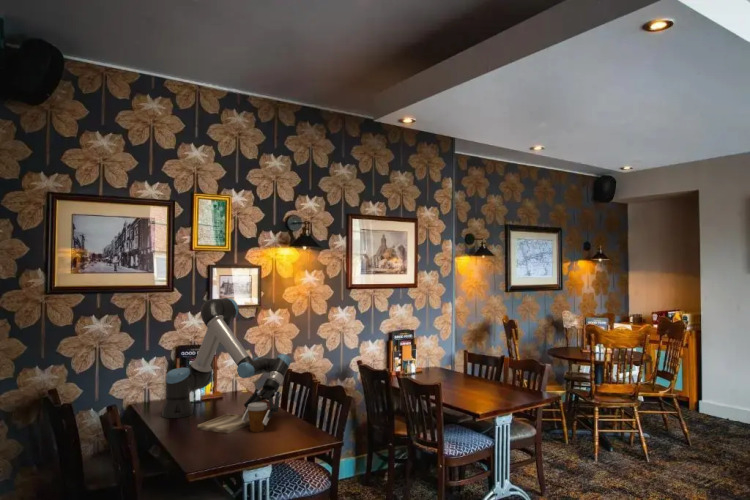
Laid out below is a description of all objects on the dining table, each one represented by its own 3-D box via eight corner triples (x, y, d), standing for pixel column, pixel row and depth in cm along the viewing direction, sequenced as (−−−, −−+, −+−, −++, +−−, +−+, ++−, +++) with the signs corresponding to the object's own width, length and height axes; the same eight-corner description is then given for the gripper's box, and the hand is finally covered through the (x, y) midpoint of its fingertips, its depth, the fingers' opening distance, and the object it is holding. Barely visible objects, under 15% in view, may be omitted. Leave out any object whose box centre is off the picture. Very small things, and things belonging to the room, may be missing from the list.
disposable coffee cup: (271, 428, 244) (271, 403, 245) (259, 434, 236) (259, 407, 236) (255, 426, 248) (255, 401, 249) (242, 431, 240) (242, 405, 240)
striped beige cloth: (197, 429, 243) (197, 424, 244) (227, 417, 264) (227, 413, 264) (227, 433, 236) (228, 429, 236) (256, 421, 257) (256, 417, 257)
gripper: (250, 376, 257) (229, 415, 242) (290, 380, 248) (271, 420, 233) (256, 385, 262) (236, 423, 247) (296, 388, 252) (278, 429, 237)
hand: (253, 422), depth 240 cm, fingers open, 11 cm apart
